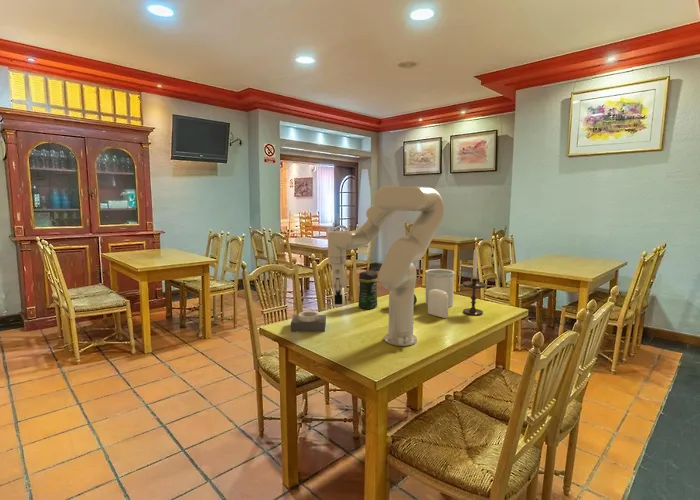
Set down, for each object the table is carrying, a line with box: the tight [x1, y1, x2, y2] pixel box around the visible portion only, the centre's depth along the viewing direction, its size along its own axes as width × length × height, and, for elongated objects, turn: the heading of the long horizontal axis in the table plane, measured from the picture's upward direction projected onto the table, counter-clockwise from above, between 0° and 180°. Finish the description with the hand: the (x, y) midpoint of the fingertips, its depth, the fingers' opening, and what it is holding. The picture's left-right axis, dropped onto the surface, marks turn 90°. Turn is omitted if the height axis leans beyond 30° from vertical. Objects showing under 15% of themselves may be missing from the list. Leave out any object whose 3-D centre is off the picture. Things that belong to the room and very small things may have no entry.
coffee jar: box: [358, 269, 379, 310], centre depth 196 cm, size 10×8×19 cm
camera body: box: [290, 310, 327, 333], centre depth 166 cm, size 10×14×6 cm
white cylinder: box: [331, 286, 346, 308], centre depth 166 cm, size 5×5×8 cm
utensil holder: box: [424, 268, 455, 308], centre depth 202 cm, size 15×15×18 cm
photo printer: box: [427, 289, 449, 319], centre depth 183 cm, size 10×4×12 cm, turn 39°
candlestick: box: [461, 241, 487, 317], centre depth 186 cm, size 11×11×35 cm
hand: (338, 302), depth 167 cm, fingers closed on white cylinder, 5 cm apart
